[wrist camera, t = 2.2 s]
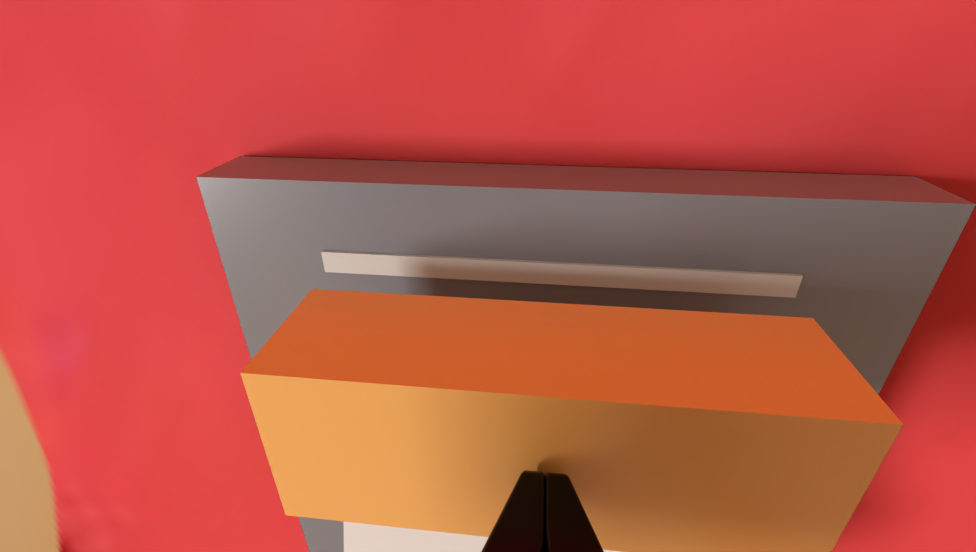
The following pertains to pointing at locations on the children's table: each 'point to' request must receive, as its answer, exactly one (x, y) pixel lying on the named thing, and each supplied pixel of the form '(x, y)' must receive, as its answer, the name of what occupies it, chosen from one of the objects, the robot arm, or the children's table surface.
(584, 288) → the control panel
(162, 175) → the children's table surface
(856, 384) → the orange key
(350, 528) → the cream plate with stripe
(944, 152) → the children's table surface
